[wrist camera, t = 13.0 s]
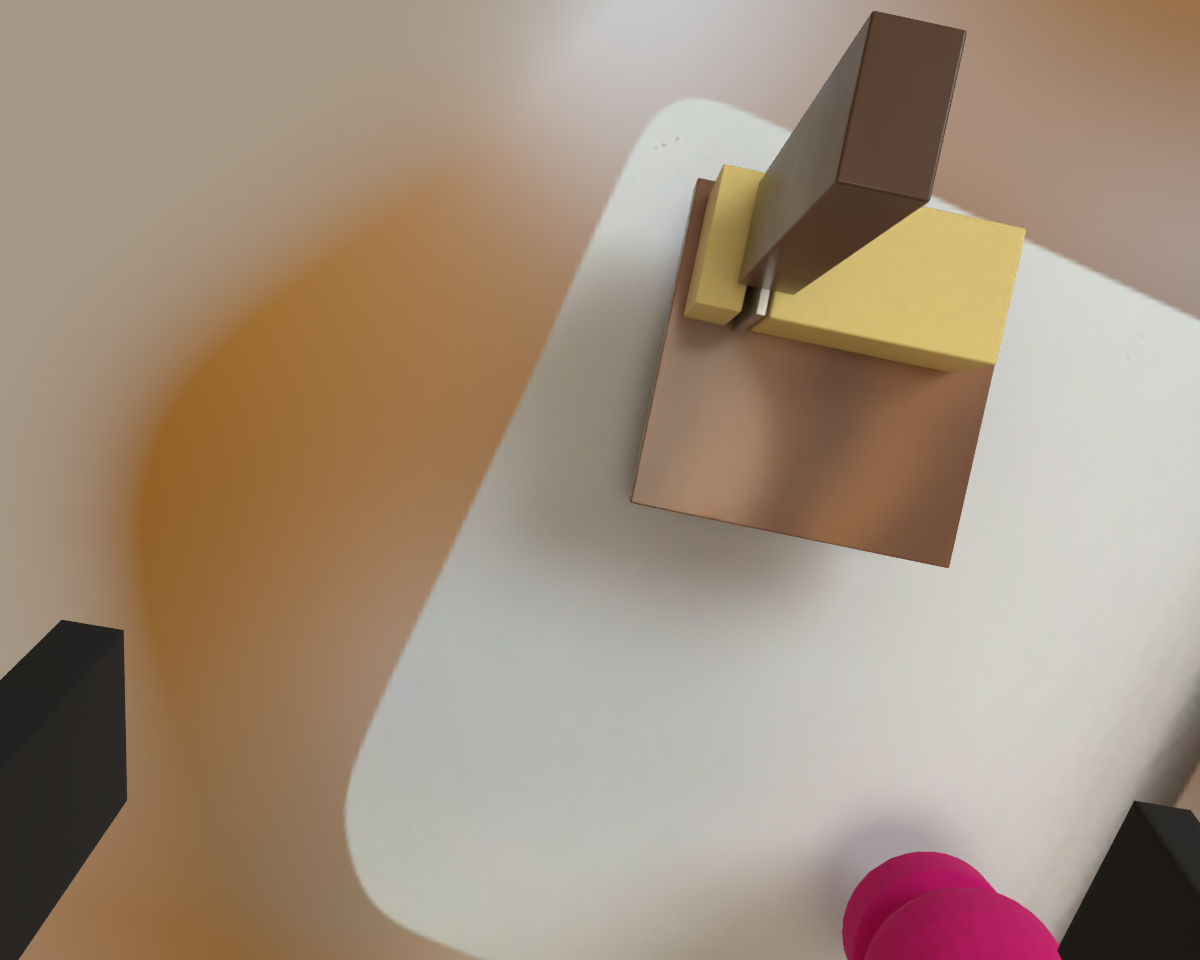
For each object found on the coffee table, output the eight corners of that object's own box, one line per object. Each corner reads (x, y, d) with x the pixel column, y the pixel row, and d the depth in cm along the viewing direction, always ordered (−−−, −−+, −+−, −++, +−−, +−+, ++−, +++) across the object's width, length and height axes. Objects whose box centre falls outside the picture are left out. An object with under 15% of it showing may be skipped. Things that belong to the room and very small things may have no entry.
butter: (683, 317, 35) (694, 302, 31) (708, 194, 35) (723, 163, 31) (951, 373, 36) (996, 365, 32) (978, 251, 35) (1027, 228, 31)
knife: (712, 326, 35) (826, 225, 18) (740, 195, 35) (882, -36, 18) (760, 336, 35) (921, 245, 18) (789, 205, 35) (978, -15, 18)
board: (628, 499, 37) (630, 502, 36) (693, 187, 37) (698, 177, 35) (934, 563, 37) (949, 568, 36) (1004, 253, 37) (1022, 246, 35)
